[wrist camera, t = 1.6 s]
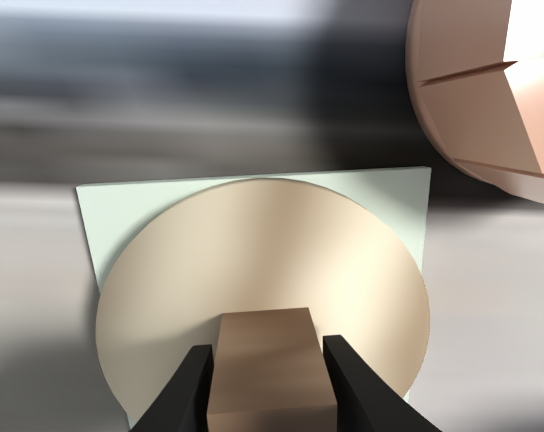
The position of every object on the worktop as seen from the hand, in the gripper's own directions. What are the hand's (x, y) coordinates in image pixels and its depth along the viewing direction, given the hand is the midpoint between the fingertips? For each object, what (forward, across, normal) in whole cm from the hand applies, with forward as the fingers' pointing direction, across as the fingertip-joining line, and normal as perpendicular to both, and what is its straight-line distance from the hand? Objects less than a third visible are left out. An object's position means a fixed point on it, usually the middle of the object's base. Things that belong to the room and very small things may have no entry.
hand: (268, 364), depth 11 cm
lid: (+2, 0, 0) cm, 2 cm away
